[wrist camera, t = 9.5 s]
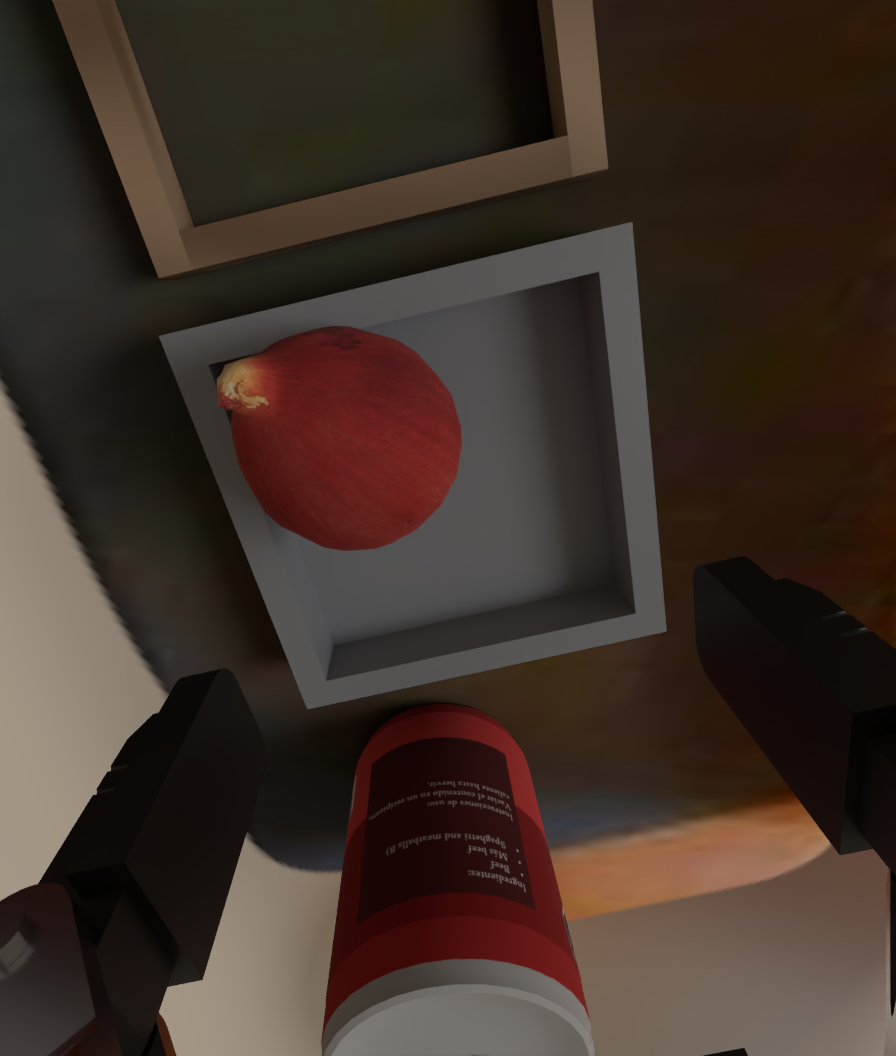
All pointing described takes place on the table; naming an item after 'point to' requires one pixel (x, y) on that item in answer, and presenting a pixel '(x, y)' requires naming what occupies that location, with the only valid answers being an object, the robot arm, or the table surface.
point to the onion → (343, 435)
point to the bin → (470, 474)
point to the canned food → (450, 902)
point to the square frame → (345, 213)
